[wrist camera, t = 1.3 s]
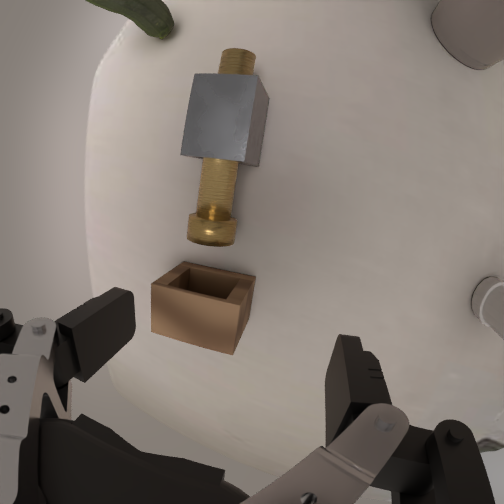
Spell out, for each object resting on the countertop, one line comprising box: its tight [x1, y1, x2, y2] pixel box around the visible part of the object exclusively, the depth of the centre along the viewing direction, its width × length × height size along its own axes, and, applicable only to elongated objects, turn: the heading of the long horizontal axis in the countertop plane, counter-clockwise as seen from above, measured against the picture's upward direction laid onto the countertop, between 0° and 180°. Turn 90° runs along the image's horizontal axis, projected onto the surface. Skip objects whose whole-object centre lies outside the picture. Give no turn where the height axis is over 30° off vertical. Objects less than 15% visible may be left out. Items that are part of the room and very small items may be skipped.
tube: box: [187, 48, 256, 247], centre depth 23 cm, size 17×4×4 cm, turn 171°
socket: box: [151, 262, 256, 355], centre depth 27 cm, size 5×8×7 cm, turn 81°
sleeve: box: [181, 74, 269, 166], centre depth 23 cm, size 7×5×7 cm
